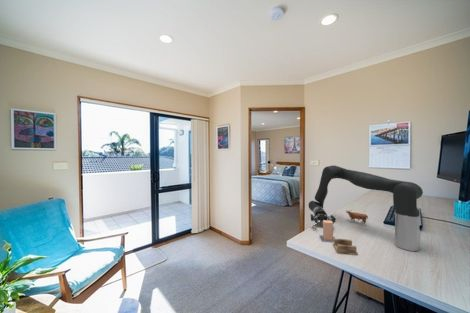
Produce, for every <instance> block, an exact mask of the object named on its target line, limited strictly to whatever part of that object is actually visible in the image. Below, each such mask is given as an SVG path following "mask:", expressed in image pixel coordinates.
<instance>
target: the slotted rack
mask: <svg viewBox="0 0 470 313" xmlns="http://www.w3.org/2000/svg"><path fill="white" fill-rule="evenodd" d="M332 245H333V248H334V250H335V253H337V254H340V255H348V256H349V255H350V256H359V253H358V252H357V246H356V245H353V240H352V239H343V238H334V243H332Z"/></svg>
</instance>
